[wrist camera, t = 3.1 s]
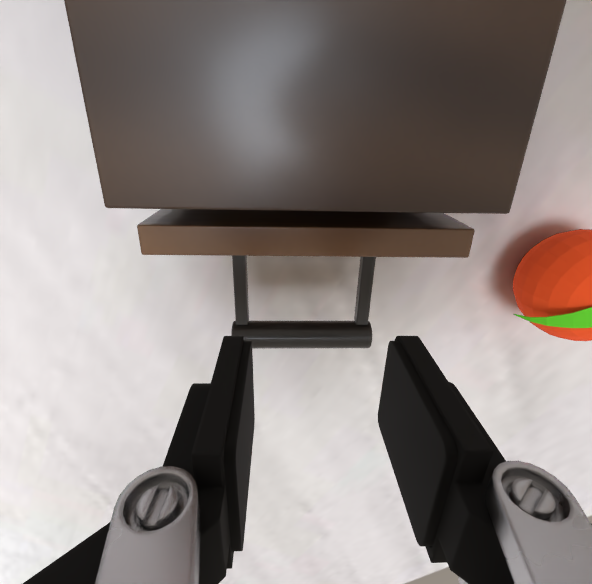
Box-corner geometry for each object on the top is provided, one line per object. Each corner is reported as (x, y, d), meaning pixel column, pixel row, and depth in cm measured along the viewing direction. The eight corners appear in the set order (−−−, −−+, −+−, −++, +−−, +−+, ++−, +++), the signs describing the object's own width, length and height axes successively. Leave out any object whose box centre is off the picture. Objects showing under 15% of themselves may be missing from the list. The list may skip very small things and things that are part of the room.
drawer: (390, 293, 25) (442, 372, 17) (200, 292, 24) (160, 374, 16) (461, -200, 15) (662, -567, 7) (150, -220, 15) (-8, -643, 7)
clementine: (483, 324, 27) (545, 385, 21) (471, 242, 25) (538, 283, 18) (590, 292, 27) (690, 344, 20) (591, 203, 24) (706, 230, 17)
